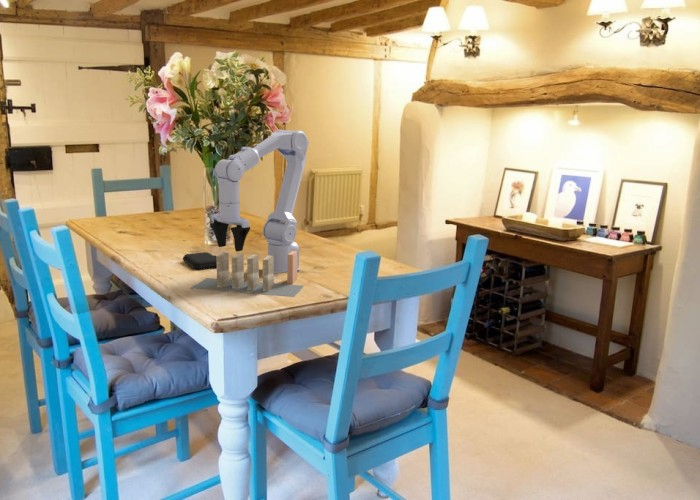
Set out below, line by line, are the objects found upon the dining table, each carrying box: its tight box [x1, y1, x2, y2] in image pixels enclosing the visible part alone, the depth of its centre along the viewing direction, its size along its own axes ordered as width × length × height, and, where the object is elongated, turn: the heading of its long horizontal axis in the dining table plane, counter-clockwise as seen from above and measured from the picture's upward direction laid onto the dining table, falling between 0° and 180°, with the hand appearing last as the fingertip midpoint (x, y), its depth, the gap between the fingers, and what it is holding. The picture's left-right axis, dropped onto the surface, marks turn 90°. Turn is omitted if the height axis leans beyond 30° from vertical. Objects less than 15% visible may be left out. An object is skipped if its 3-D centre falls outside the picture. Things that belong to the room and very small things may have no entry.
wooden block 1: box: [246, 253, 260, 290], centre depth 165 cm, size 2×5×9 cm, turn 170°
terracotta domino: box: [286, 251, 298, 285], centre depth 172 cm, size 2×5×9 cm, turn 170°
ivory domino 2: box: [231, 252, 245, 289], centre depth 165 cm, size 2×5×9 cm, turn 170°
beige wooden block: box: [215, 251, 230, 288], centre depth 166 cm, size 2×5×9 cm, turn 170°
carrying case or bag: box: [182, 251, 217, 271], centre depth 190 cm, size 11×3×15 cm
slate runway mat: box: [190, 277, 304, 298], centre depth 166 cm, size 30×11×1 cm, turn 80°
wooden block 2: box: [262, 255, 275, 291], centre depth 164 cm, size 2×5×9 cm, turn 170°
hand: (230, 248), depth 169 cm, fingers open, 7 cm apart
